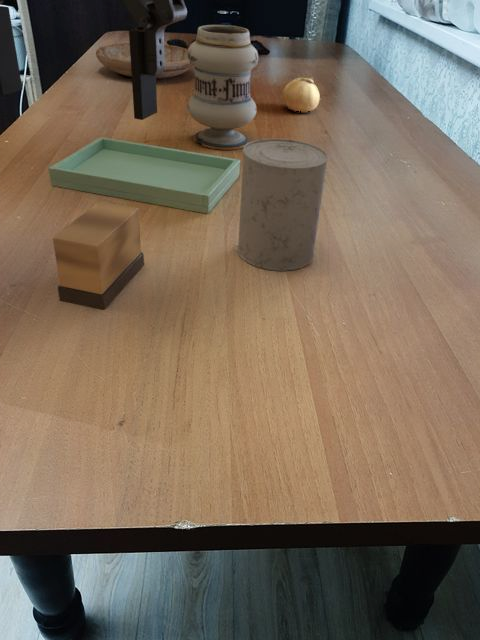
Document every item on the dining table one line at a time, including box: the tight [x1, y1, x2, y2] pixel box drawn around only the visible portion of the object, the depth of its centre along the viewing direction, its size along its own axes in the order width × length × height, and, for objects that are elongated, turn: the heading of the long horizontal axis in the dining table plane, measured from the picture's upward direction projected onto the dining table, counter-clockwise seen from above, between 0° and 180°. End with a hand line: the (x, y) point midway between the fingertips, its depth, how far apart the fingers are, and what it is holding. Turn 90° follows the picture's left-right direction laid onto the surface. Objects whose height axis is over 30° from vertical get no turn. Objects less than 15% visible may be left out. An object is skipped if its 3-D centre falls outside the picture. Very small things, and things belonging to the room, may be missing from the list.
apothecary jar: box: [187, 24, 260, 151], centre depth 98 cm, size 12×12×18 cm
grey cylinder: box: [236, 138, 329, 272], centre depth 67 cm, size 10×10×12 cm
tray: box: [48, 136, 241, 214], centre depth 85 cm, size 24×16×3 cm, turn 76°
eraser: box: [52, 200, 145, 310], centre depth 60 cm, size 10×5×7 cm, turn 166°
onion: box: [281, 76, 321, 113], centre depth 121 cm, size 8×8×7 cm
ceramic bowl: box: [95, 42, 194, 79], centre depth 138 cm, size 23×24×5 cm
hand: (75, 103), depth 50 cm, fingers open, 13 cm apart
